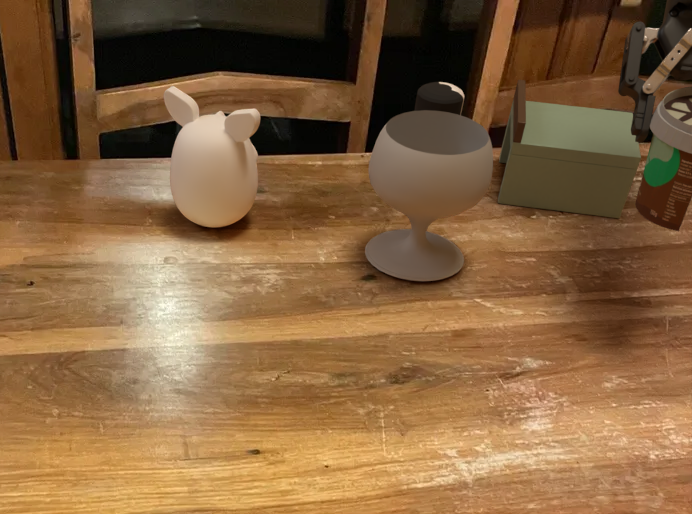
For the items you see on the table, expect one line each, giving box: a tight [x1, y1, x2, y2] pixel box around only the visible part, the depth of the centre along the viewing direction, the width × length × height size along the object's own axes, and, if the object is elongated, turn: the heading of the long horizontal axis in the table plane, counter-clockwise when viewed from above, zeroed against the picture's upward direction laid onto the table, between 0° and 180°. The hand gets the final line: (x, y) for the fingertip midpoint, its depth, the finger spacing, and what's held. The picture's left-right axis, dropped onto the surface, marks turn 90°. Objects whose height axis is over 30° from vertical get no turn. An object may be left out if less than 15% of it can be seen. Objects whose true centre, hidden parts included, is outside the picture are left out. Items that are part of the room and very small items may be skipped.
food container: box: [635, 86, 692, 232], centre depth 94 cm, size 12×6×10 cm, turn 155°
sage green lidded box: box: [497, 79, 642, 219], centre depth 124 cm, size 16×14×10 cm
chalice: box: [364, 110, 494, 282], centre depth 109 cm, size 14×14×15 cm
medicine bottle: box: [413, 81, 465, 116], centre depth 124 cm, size 7×7×12 cm
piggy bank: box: [163, 85, 261, 228], centre depth 114 cm, size 12×12×15 cm
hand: (680, 143), depth 92 cm, fingers closed on food container, 7 cm apart
